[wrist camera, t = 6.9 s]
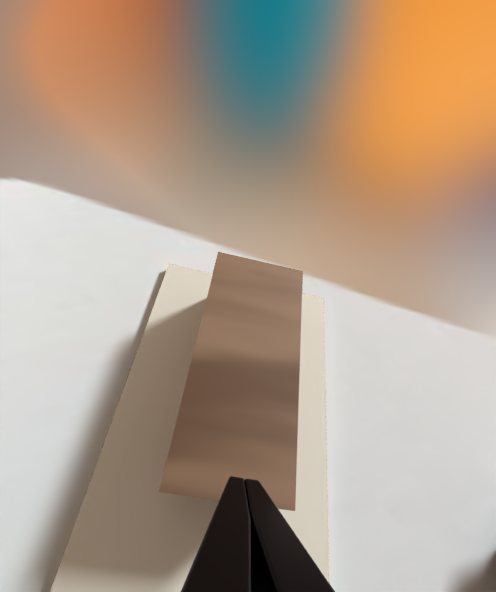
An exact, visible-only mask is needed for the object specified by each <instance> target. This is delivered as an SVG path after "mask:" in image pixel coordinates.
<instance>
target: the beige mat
mask: <svg viewBox="0 0 496 592" xmlns="http://www.w3.org/2000/svg"><path fill="white" fill-rule="evenodd" d="M212 275H213V273H209V272H204V271H200V270H195V269H191V268H186V267H182V266H177V265H173V264H169V265H168V268H167V270H166V273H165V276H164V279H163V281H162V284H161V287H160V290H159V292H158V295H157V298H156V301H155V303H154V306H153V309H152V312H151V314H150V317H149V320H148V323H147V326H146V328H145V331H144V334H143V337H142V339H141V342H140V345H139V348H138V350H137V353H136V356H135V359H134V361H133V364H132V367H131V370H130V372H129V375H128V378H127V381H126V383H125V386H124V389H123V392H122V395H121V397H120V400H119V403H118V406H117V408H116V411H115V414H114V417H113V419H112V422H111V425H110V428H109V430H108V433H107V436H106V439H105V441H104V444H103V447H102V450H101V452H100V455H99V458H98V461H97V463H96V466H95V469H94V472H93V475H92V477H91V480H90V483H89V486H88V488H87V491H86V494H85V497H84V499H83V502H82V505H81V508H80V510H79V513H78V516H77V519H76V521H75V524H74V527H73V530H72V532H71V535H70V538H69V541H68V544H67V546H66V549H65V552H64V555H63V557H62V560H61V563H60V566H59V568H58V571H57V574H56V577H55V579H54V582H53V585H52V588H51V590H50V592H181V590H182V587H183V585H184V582H185V580H186V578H187V575H188V573H189V571H190V568H191V566H192V564H193V561H194V559H195V557H196V554H197V552H198V549H199V547H200V545H201V542H202V540H203V538H204V535H205V533H206V531H207V528H208V526H209V524H210V521H211V519H212V516H213V514H214V512H215V509H216V507H217V505H218V502H219V500H211V499H204V498H197V497H190V496H183V495H176V494H168V493H161V492H159V489H160V485H161V481H162V477H163V473H164V469H165V465H166V461H167V457H168V453H169V449H170V445H171V441H172V437H173V433H174V429H175V425H176V421H177V417H178V413H179V409H180V405H181V401H182V397H183V392H184V388H185V384H186V380H187V376H188V372H189V368H190V364H191V360H192V356H193V352H194V348H195V344H196V340H197V336H198V332H199V328H200V324H201V320H202V316H203V312H204V308H205V304H206V300H207V296H208V292H209V287H210V283H211V279H212ZM279 511H280V512H281V514H282V515H283V517H284V518H285V520H286V521H287V522H288V524H289V525H290V527H291V528H292V530H293V531H294V533H295V534H296V536H297V537H298V538H299V540H300V541H301V543H302V544H303V546H304V547H305V549H306V550H307V552H308V553H309V555H310V556H311V557H312V559H313V560H314V562H315V563H316V565H317V566H318V568H319V569H320V571H321V572H322V574H323V575H324V576H325V578H326V579H327V581H328V582H329V542H328V489H327V436H326V382H325V329H324V298H322V297H317V296H313V295H308V294H304V293H302V310H301V342H300V374H299V406H298V438H297V470H296V502H295V511H290V510H283V509H279Z"/></svg>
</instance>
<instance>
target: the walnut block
mask: <svg viewBox="0 0 496 592" xmlns="http://www.w3.org/2000/svg"><path fill="white" fill-rule="evenodd" d="M302 278H303V271H299V270H295V269H291V268H286V267H282V266H278V265H273V264H269V263H264V262H260V261H256V260H251V259H247V258H243V257H238V256H234V255H230V254H225V253H221V252H218V255H217V259H216V263H215V267H214V271H213V275H212V279H211V283H210V287H209V292H208V296H207V300H206V304H205V308H204V312H203V316H202V320H201V324H200V328H199V332H198V336H197V340H196V344H195V348H194V352H193V356H192V360H191V364H190V368H189V372H188V376H187V380H186V384H185V388H184V392H183V397H182V401H181V405H180V409H179V413H178V417H177V421H176V425H175V429H174V433H173V437H172V441H171V445H170V449H169V453H168V457H167V461H166V465H165V469H164V473H163V477H162V481H161V485H160V489H159V492H161V493H168V494H176V495H183V496H190V497H197V498H204V499H211V500H220V498H221V495H222V493H223V491H224V488H225V486H226V483H227V481H228V479H229V477H231V476H234V477H240V478H243V479H244V480H245V479H254V480H258V481H259V482H260V483H261V484H262V486H263V487H264V489H265V490H266V492H267V493H268V495H269V496H270V498H271V499H272V501H273V502H274V503H275V505H276V506H277V508H278V509H283V510H290V511H295V502H296V470H297V438H298V406H299V374H300V342H301V310H302Z"/></svg>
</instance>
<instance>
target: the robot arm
mask: <svg viewBox="0 0 496 592" xmlns="http://www.w3.org/2000/svg"><path fill="white" fill-rule="evenodd" d="M181 592H335V591H334V590H333V588H332V587H331V585H330V584H329V582H328V581H327V579H326V578H325V576H324V575H323V574H322V572H321V571H320V569H319V568H318V566H317V565H316V563H315V562H314V560H313V559H312V557H311V556H310V555H309V553H308V552H307V550H306V549H305V547H304V546H303V544H302V543H301V541H300V540H299V538H298V537H297V536H296V534H295V533H294V531H293V530H292V528H291V527H290V525H289V524H288V522H287V521H286V520H285V518H284V517H283V515H282V514H281V512H280V511H279V509H278V508H277V506H276V505H275V503H274V502H273V501H272V499H271V498H270V496H269V495H268V493H267V492H266V490H265V489H264V487H263V486H262V484H261V483H260V482H259V481H258V480H254V479H245V480H244V479H243V478H240V477H234V476H231V477H229V479H228V481H227V483H226V486H225V488H224V491H223V493H222V495H221V498H220V500H219V502H218V505H217V507H216V509H215V512H214V514H213V516H212V519H211V521H210V524H209V526H208V528H207V531H206V533H205V535H204V538H203V540H202V542H201V545H200V547H199V549H198V552H197V554H196V557H195V559H194V561H193V564H192V566H191V568H190V571H189V573H188V575H187V578H186V580H185V582H184V585H183V587H182V590H181Z"/></svg>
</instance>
